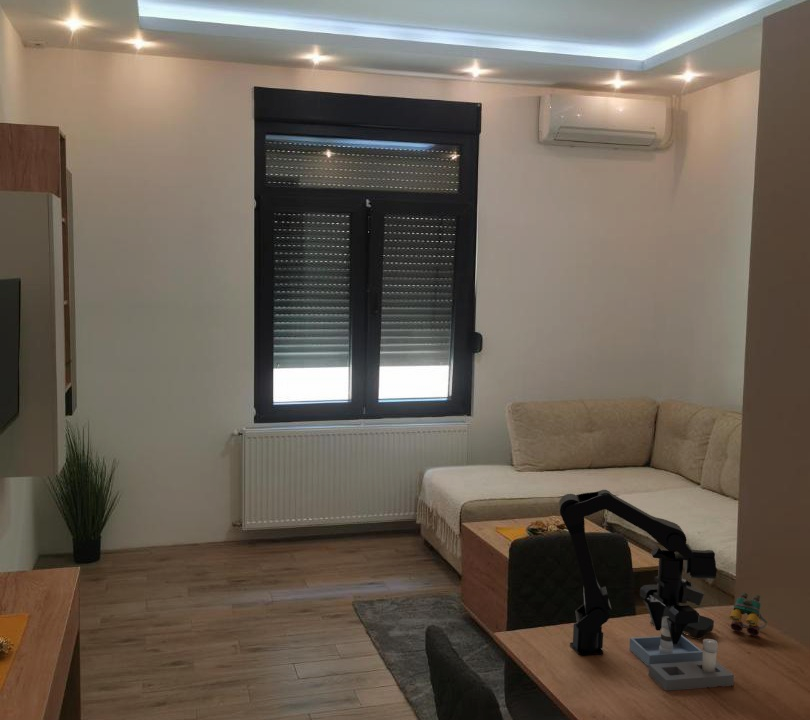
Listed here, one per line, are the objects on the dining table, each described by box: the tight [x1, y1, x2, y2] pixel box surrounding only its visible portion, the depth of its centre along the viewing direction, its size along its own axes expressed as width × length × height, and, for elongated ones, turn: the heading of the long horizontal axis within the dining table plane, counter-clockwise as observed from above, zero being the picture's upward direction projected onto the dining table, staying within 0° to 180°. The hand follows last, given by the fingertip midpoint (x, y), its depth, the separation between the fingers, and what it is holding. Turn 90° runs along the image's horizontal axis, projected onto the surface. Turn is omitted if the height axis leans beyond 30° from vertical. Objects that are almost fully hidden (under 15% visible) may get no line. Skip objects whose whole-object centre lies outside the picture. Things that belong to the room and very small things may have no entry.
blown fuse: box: [659, 616, 673, 654], centre depth 209 cm, size 3×3×9 cm
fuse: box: [701, 638, 719, 673], centre depth 198 cm, size 3×3×9 cm
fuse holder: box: [648, 660, 735, 692], centre depth 197 cm, size 17×8×2 cm, turn 102°
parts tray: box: [628, 634, 703, 668], centre depth 210 cm, size 14×10×3 cm
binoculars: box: [729, 591, 768, 637], centre depth 227 cm, size 9×9×10 cm
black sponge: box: [649, 606, 715, 640], centre depth 228 cm, size 16×8×4 cm, turn 43°
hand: (666, 636), depth 209 cm, fingers open, 8 cm apart
